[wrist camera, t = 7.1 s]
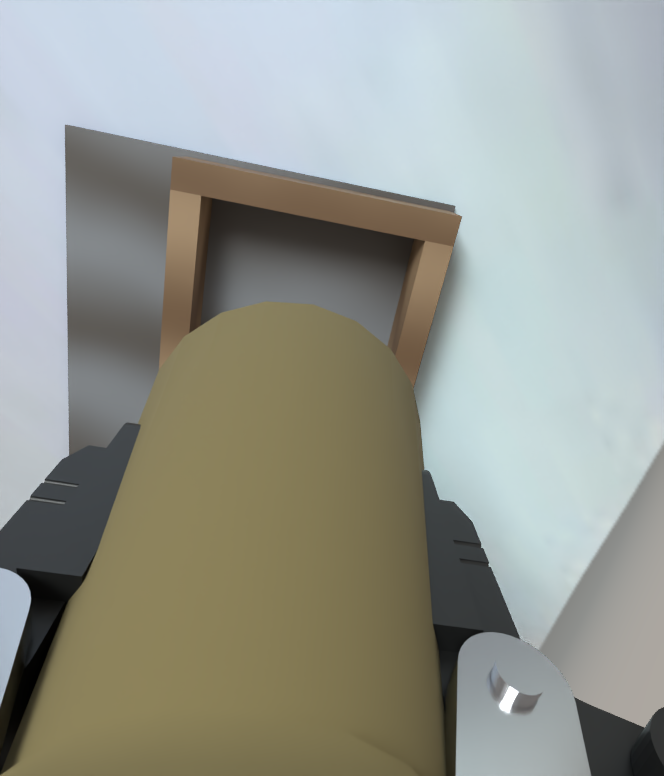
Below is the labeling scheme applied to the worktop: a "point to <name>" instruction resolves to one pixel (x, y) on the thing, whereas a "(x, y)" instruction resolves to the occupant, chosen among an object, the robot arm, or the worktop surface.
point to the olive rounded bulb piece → (255, 572)
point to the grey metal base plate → (225, 262)
